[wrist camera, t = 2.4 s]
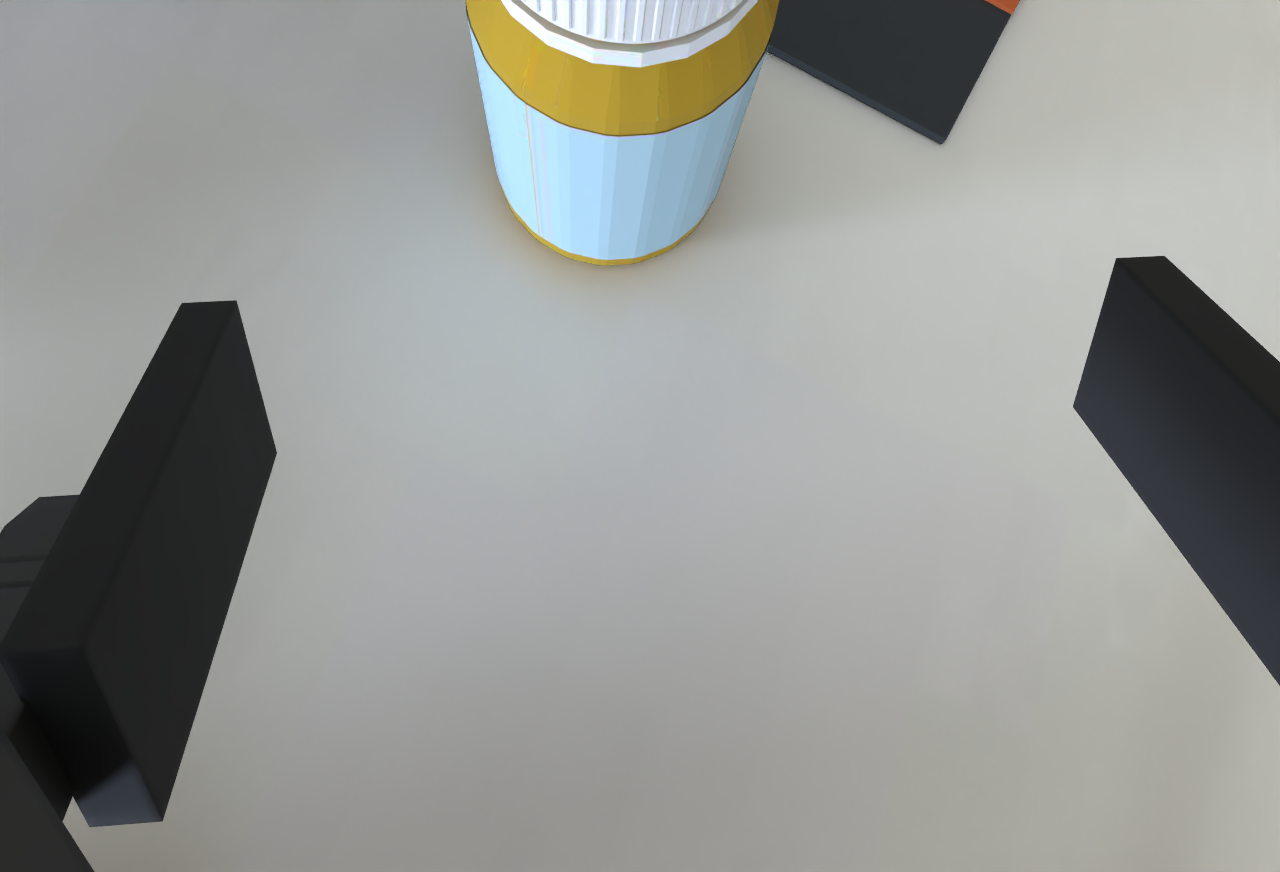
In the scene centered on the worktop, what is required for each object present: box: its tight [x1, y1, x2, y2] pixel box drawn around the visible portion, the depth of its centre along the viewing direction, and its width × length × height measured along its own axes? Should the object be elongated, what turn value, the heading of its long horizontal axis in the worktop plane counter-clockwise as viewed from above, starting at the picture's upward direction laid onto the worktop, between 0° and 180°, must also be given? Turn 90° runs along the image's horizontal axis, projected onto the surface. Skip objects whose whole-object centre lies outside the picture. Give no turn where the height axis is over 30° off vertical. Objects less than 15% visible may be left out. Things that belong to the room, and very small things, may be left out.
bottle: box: [466, 0, 779, 266], centre depth 26 cm, size 7×7×15 cm
